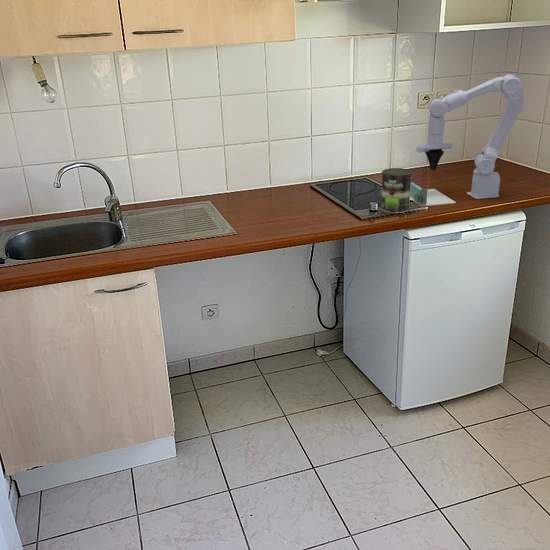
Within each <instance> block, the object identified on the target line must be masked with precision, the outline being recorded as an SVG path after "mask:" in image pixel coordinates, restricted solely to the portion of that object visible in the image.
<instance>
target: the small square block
mask: <svg viewBox="0 0 550 550" xmlns="http://www.w3.org/2000/svg"><path fill="white" fill-rule="evenodd" d="M421 188H422V187H421ZM428 189H429V188H426V187H423V188H422V190H421V204H423V205H425V204H426V203H427V190H428ZM419 200H420V197H419V196H417V195H414V201H416V202H417V203H418V202H419Z"/></svg>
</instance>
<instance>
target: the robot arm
mask: <svg viewBox="0 0 550 550" xmlns="http://www.w3.org/2000/svg"><path fill="white" fill-rule="evenodd" d="M524 89H525V88H524V85H523V84H522V81H521V79H520V78H519V77H517V76H516V75H514V74H512V73H506V74H504V75H502V76H497V77H494V78H492V79H490V80H487V81H485V82H484V83H481V84H480V85H479V84H478V85H477V86H474V87H473V88H470V89H468V90H466V91H464V90H462V89H459V90H458V89H454V90H453V92H452V93H449V94H447V95H445V96H443V95H441V96H440V98H436V99H434V100H432V101H431V102H430V104H429V106H428V110H429V112H430V113H429V116H428V119H429V120H428V125H427V126H428V127H427V128H428V129H427V141H426V144H423V145H420V146H419V145H418V146H416V151H415V152H416V153H419V154H420V153H421V154H422V153H425V155H426V158H427V161H428V164H429V170H432V171H436V170H437V168H438V164H439V162H440V159H441V158H442V156H443V155H444V151H445V150H448V149H449V150H450V149H451V150H452V149H453V145H454V143H451V142H444V137H445V136H444V134H445V133H444V132H445V115H446V114H447V113H450V112H452V111H454V110H457V109H459V108H462V107H464V106H465V107H466V105H467V104H468V101H469V100H472V99H476V98H477V97H480V96H484V95H485V94H489V93H497V94H501V92H502V94H503V95H504V97H505V100H506V102H507V106H506V108H505V110H504V111H503V113H502V115H501V117H500V119H499V121H498V123H497V125H496V127H495V128H494V130H493V131H492V134H491V136H490V138H489V139H488V142H487V143H486V145H485V146H484V147H483V148H482V150H481V151H480V152H479V153H478V154H477V155H476V156H475V157H474V161H473V162H474V165H475V169H474V170H473V171H472V180H471V181H472V182H471V191H467V192H466V194H467V195H468V196H470V197H472V198H473V199H476V200H480V199H490V198H491V199H492V198H500V195H499V191H500V184H501V176H500V174H499V172H497V171H494V169H495V168H496V165H495V164H496V161H497V159H498V156H499V152H500V149H501V148H502V146H503V144H504V143H505V140H506V139H507V137H508V135H509V133H510V131H511V130H512V128H513V126H514V124H515V123H516V121H517V119H518V117H519V115H520V113H522V112H521V111H522V110H523V108H524V106H525V96H524Z"/></svg>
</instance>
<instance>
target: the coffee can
mask: <svg viewBox="0 0 550 550" xmlns="http://www.w3.org/2000/svg"><path fill="white" fill-rule="evenodd" d="M381 174H382V176H381V177H382V178H381V179H382V181H381V197H380V198H381V199H380V200H381V201H380V209H381V208H382V209H383V210H386V211H390V212H398V213H403V214H405V213H404V212H405V211H407V210H408V209H409V210H410V204H411V202H410V191H411V182H412V180H411V177H412V175H413V171H412V170H410V169H407V168H399V167H392V168H385V169H383V170H382V171H381Z"/></svg>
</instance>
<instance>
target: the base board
mask: <svg viewBox="0 0 550 550" xmlns="http://www.w3.org/2000/svg"><path fill="white" fill-rule="evenodd" d="M427 189H428V190H427V203H426V204H425V205H426V206H425V207H428V206H429V207H432V206H440V205H441V206H442V205H452V204H457V202H456V201H455V200H453V199H451V198H449V197H448V196H447V195H445V194H444V193H442V192H440V191H439V190H437V189H436V188H430V189H429V188H427ZM410 200H413V201H414V198H413V197H412V196H411V195H410ZM418 203H421V202H418Z"/></svg>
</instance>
